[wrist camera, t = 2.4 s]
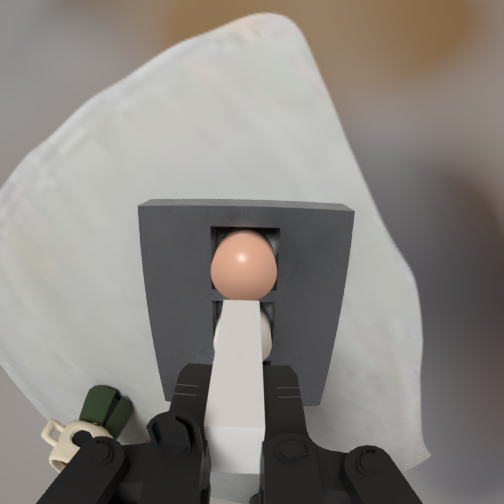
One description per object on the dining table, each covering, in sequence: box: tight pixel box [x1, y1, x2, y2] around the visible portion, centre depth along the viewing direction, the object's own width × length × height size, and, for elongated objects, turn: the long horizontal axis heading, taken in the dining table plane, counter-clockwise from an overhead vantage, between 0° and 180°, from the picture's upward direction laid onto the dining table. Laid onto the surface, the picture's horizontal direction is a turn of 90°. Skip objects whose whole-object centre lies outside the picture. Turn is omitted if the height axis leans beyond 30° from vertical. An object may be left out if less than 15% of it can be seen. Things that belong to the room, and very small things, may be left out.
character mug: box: [41, 386, 132, 473], centre depth 25 cm, size 11×7×13 cm, turn 47°
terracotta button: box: [211, 228, 277, 301], centre depth 21 cm, size 4×4×4 cm
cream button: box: [213, 305, 272, 362], centre depth 23 cm, size 4×4×4 cm
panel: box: [138, 199, 355, 406], centre depth 25 cm, size 20×16×3 cm
